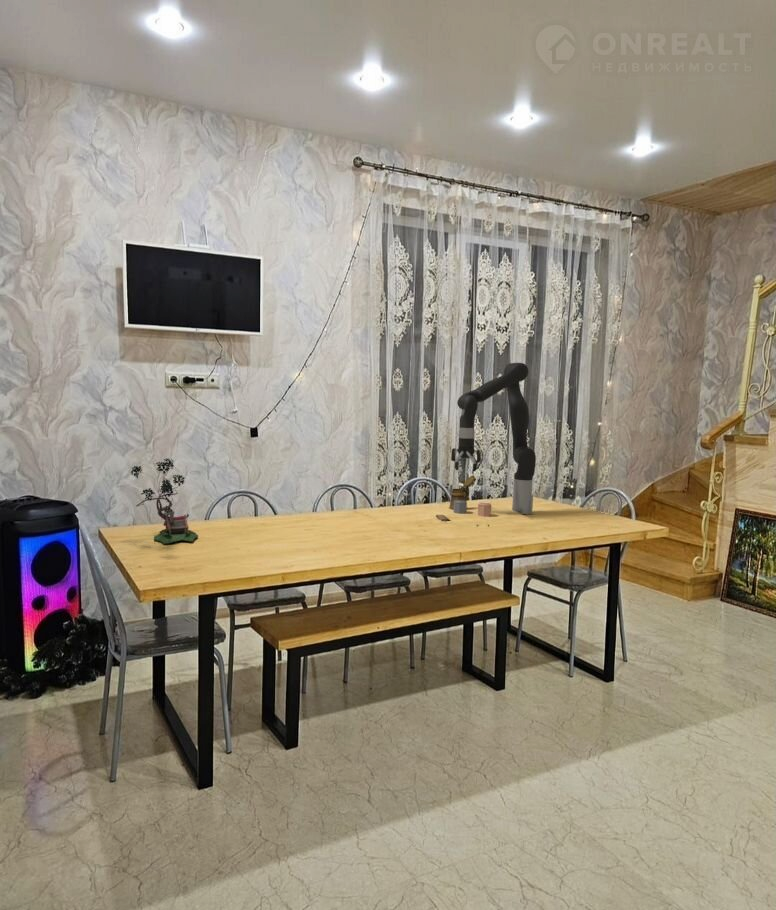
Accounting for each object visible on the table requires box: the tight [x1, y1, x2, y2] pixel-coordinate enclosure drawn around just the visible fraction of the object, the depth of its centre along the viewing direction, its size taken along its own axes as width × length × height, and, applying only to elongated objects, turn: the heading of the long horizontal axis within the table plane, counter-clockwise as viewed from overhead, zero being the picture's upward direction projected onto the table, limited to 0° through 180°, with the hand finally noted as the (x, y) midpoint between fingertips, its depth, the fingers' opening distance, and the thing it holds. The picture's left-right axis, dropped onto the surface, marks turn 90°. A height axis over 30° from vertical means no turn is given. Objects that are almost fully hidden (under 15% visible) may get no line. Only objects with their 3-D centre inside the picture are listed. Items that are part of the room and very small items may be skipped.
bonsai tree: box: [130, 457, 199, 546], centre depth 267 cm, size 35×24×32 cm
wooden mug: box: [448, 475, 475, 511], centre depth 354 cm, size 9×14×18 cm, turn 118°
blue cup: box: [453, 500, 468, 515], centre depth 343 cm, size 6×6×7 cm
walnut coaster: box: [435, 514, 452, 522], centre depth 333 cm, size 10×10×1 cm
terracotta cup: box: [477, 502, 492, 518], centre depth 338 cm, size 6×6×7 cm
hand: (465, 470), depth 339 cm, fingers open, 8 cm apart
